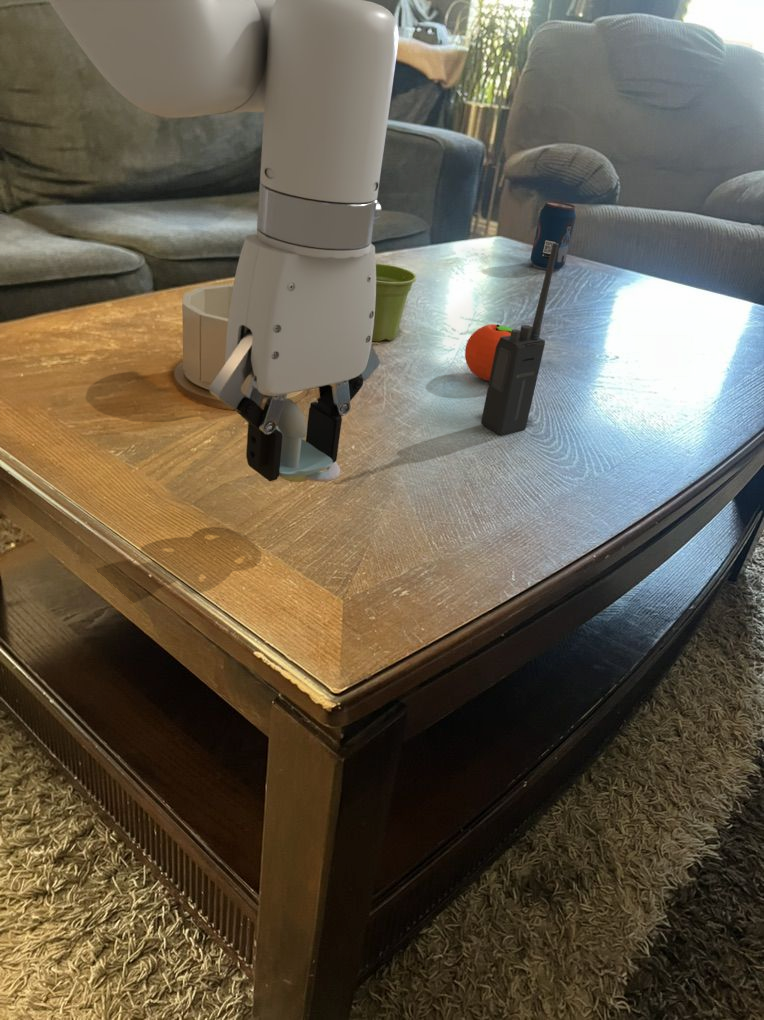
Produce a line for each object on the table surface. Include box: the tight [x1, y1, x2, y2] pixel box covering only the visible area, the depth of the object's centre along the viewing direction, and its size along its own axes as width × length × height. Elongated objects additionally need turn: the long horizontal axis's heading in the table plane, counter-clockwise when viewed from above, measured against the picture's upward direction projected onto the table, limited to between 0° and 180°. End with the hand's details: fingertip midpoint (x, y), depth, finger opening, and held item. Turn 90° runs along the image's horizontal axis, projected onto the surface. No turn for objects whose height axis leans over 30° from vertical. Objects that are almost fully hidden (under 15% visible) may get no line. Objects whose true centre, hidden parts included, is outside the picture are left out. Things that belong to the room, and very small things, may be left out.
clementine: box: [464, 323, 514, 382], centre depth 97 cm, size 8×7×7 cm
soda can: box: [530, 200, 577, 272], centre depth 153 cm, size 7×7×12 cm
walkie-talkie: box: [480, 243, 559, 437], centre depth 82 cm, size 5×3×20 cm
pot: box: [181, 283, 252, 395], centre depth 88 cm, size 13×20×8 cm, turn 132°
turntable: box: [173, 360, 309, 411], centre depth 88 cm, size 15×15×1 cm
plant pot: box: [372, 263, 417, 342], centre depth 106 cm, size 9×9×9 cm
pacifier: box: [276, 398, 341, 483], centre depth 59 cm, size 7×6×6 cm
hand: (292, 461), depth 60 cm, fingers closed on pacifier, 4 cm apart
